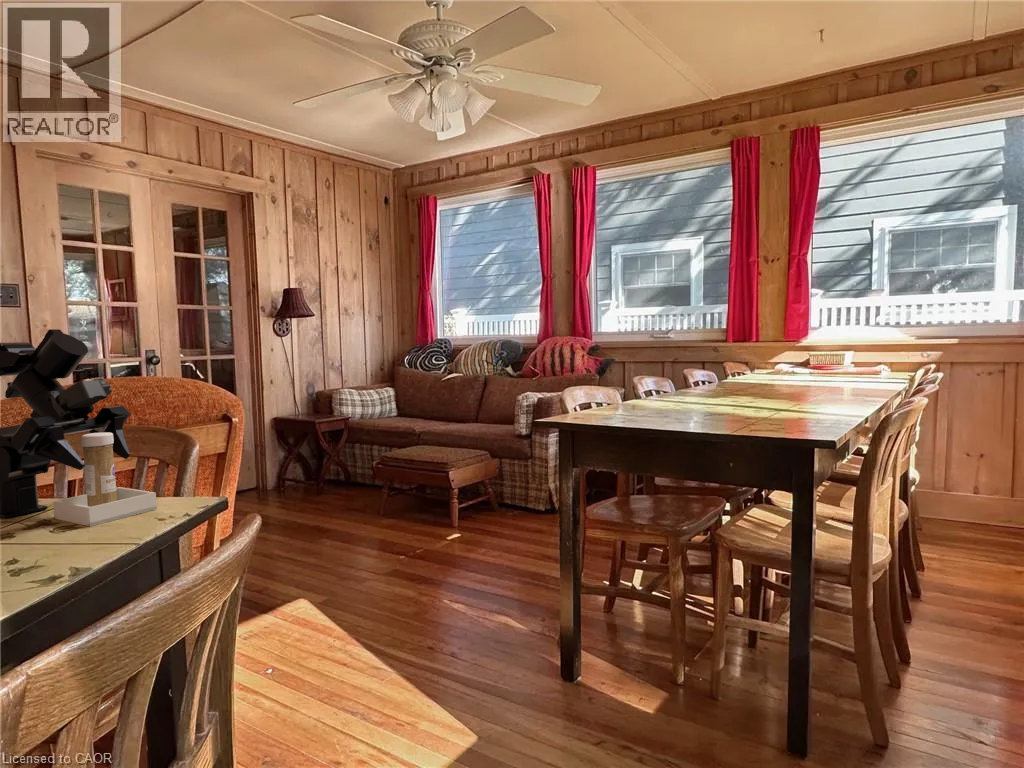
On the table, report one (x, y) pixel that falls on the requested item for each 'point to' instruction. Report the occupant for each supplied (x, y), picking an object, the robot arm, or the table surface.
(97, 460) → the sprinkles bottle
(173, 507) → the table surface
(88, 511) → the grey bin
